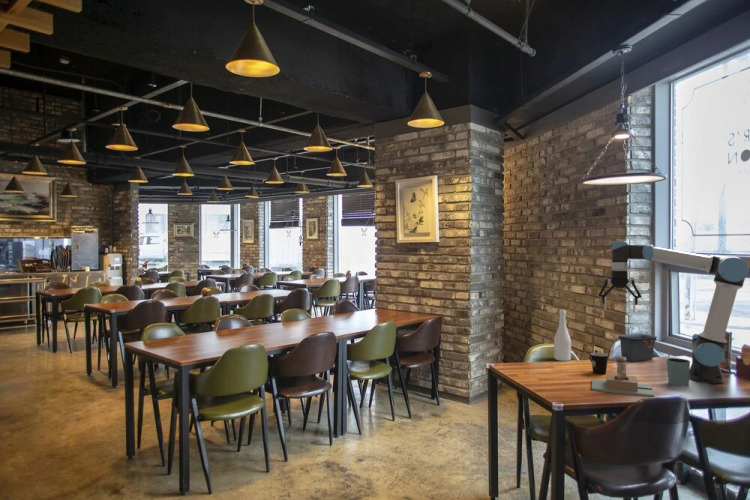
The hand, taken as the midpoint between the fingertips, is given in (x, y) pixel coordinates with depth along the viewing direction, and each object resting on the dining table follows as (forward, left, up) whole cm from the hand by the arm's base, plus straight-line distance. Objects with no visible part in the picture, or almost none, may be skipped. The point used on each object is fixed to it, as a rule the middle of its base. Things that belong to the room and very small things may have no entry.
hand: (619, 310), depth 261 cm
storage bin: (-12, -46, -35) cm, 59 cm away
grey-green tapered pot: (-26, +5, -35) cm, 44 cm away
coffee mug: (+10, -4, -35) cm, 37 cm away
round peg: (0, +25, -34) cm, 42 cm away
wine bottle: (+30, -28, -35) cm, 54 cm away
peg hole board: (0, +25, -35) cm, 43 cm away
